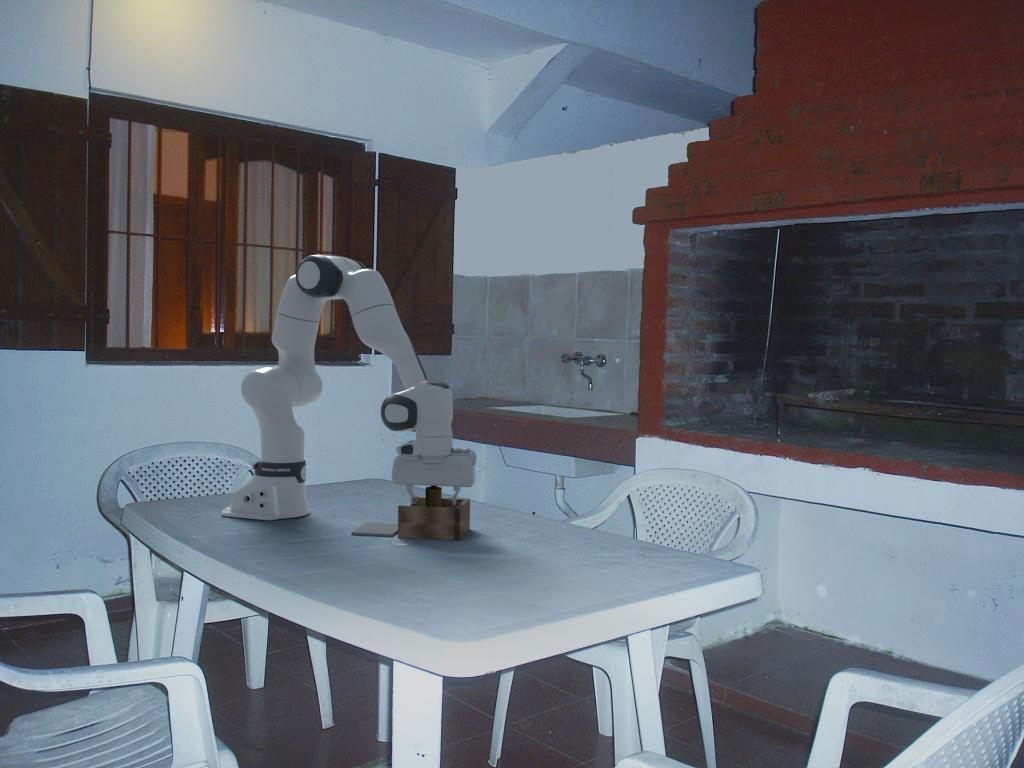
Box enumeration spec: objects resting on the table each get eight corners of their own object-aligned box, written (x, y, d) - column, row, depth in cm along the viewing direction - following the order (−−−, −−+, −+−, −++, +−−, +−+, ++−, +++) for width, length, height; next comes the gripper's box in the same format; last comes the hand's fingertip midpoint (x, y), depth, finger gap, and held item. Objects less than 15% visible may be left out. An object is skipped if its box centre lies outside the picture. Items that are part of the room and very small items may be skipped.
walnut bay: (397, 537, 209) (398, 506, 208) (411, 526, 222) (411, 496, 221) (459, 540, 207) (459, 508, 206) (469, 528, 220) (470, 499, 219)
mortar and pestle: (448, 530, 217) (449, 458, 216) (444, 536, 211) (445, 461, 210) (422, 529, 218) (423, 457, 217) (416, 535, 211) (417, 460, 210)
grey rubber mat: (351, 534, 211) (351, 532, 211) (366, 524, 223) (366, 522, 223) (392, 536, 209) (392, 534, 209) (405, 526, 221) (405, 523, 221)
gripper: (478, 447, 215) (477, 503, 216) (397, 444, 218) (396, 499, 218) (474, 450, 209) (473, 508, 209) (390, 447, 211) (389, 504, 212)
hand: (433, 503), depth 214 cm, fingers open, 8 cm apart
